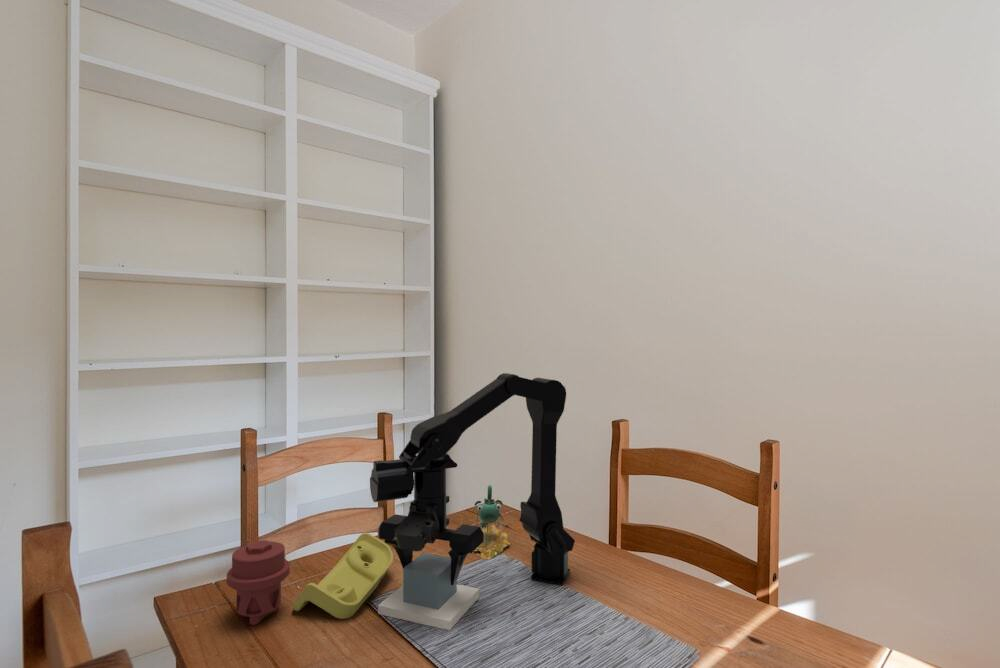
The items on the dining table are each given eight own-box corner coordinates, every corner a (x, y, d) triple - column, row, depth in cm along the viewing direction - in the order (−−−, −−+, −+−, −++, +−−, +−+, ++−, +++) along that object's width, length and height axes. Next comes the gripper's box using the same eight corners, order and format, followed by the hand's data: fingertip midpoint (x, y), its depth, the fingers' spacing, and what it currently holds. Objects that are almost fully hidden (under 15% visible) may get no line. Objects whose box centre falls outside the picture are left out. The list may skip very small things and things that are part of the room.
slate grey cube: (456, 591, 98) (456, 558, 98) (438, 609, 92) (438, 574, 92) (423, 584, 101) (423, 552, 101) (403, 602, 95) (403, 568, 94)
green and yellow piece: (511, 529, 133) (512, 472, 131) (508, 570, 115) (509, 504, 114) (473, 528, 134) (473, 471, 132) (464, 568, 116) (464, 503, 114)
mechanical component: (295, 598, 99) (282, 628, 89) (237, 603, 97) (218, 633, 87) (295, 531, 99) (282, 554, 89) (237, 535, 97) (217, 558, 87)
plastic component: (352, 610, 90) (302, 578, 92) (336, 646, 92) (287, 614, 93) (401, 552, 110) (359, 527, 112) (387, 582, 111) (346, 557, 113)
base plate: (479, 596, 99) (479, 572, 99) (449, 630, 88) (449, 603, 88) (413, 583, 105) (413, 560, 105) (378, 613, 93) (378, 588, 93)
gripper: (359, 501, 92) (359, 591, 92) (456, 514, 85) (457, 612, 85) (395, 483, 103) (395, 564, 103) (484, 494, 96) (484, 581, 96)
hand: (430, 580), depth 96 cm, fingers open, 9 cm apart
